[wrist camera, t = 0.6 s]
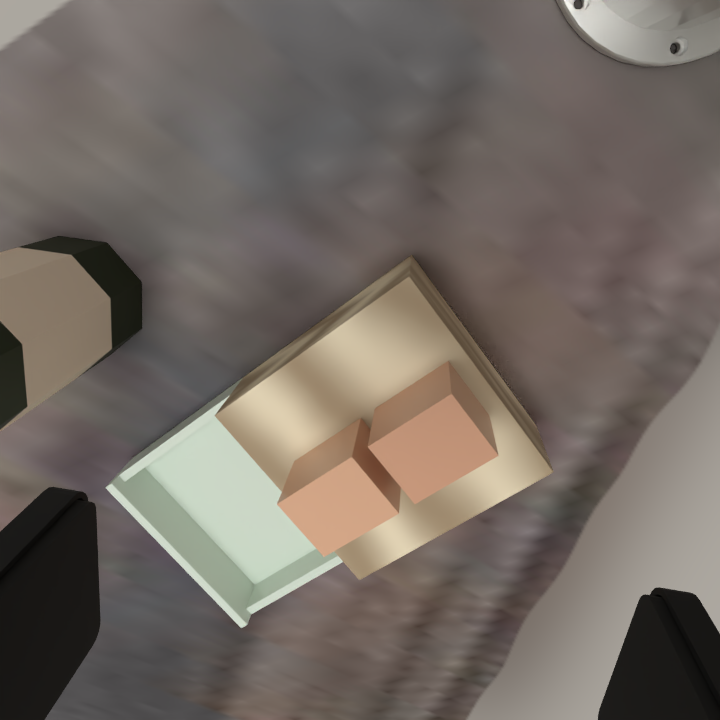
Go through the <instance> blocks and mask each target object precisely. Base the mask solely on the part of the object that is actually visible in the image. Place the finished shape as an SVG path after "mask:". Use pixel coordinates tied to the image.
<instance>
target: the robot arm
mask: <svg viewBox="0 0 720 720" xmlns="http://www.w3.org/2000/svg"><path fill="white" fill-rule="evenodd" d="M556 1H557V3H558V5H559V7H560V9H561V11H562V13H563V15H564V17H565V18H566V20H567V22H568V23H569V24H570V25H571V26H572V28H573V29H574V30H575V31H576V32H577V34H578V35H579V36H580V37H581V38H582V39H583V40H584V41H585V42H587V43H588V44H589V45H591V46H592V47H593V48H595V49H596V50H597V51H599V52H600V53H602V54H604V55H607V56H609V57H611V58H613V59H615V60H617V61H620V62H624V63H629V64H633V65H638V66H664V67H666V66H671V65H676V64H682V63H687V62H691V61H694V60H697V59H700V58H703V57H706V56H709V55H711V54H713V53H715V52H717V51H719V50H720V0H580V1H582V8H581V9H575V8H574V5H573V3H574V1H575V0H556ZM672 43H673V44H675V45H676V46H677V51H676V52H675V54H672V53H671V51H670V46H671V44H672ZM99 628H100V598H99V572H98V545H97V519H96V506H95V504H94V503H92V502H88V497H87V495H86V494H85V493H84V492H80V491H74V490H68V489H62V488H56V487H50V488H48V489H46V490H45V491H44V492H42V493H41V494H40V495H39V496H38V497H37V498H36V499H35V500H34V501H33V502H32V503H31V504H30V505H28V506H27V507H26V508H25V509H24V510H23V511H22V512H21V513H20V514H19V515H18V516H17V517H16V518H15V519H13V520H12V521H11V522H10V523H9V524H8V525H7V526H6V527H5V528H4V529H3V530H2V531H1V532H0V720H45V718H46V717H47V715H48V713H49V712H50V710H51V709H52V707H53V706H54V704H55V703H56V701H57V700H58V698H59V697H60V695H61V694H62V692H63V690H64V689H65V687H66V686H67V684H68V683H69V681H70V680H71V678H72V677H73V675H74V674H75V672H76V671H77V669H78V667H79V666H80V664H81V663H82V661H83V660H84V658H85V657H86V655H87V654H88V652H89V651H90V649H91V647H92V646H93V644H94V642H95V640H96V638H97V635H98V632H99ZM598 720H720V634H719V632H718V630H717V628H716V627H715V625H714V624H713V622H712V620H711V618H710V617H709V615H708V613H707V612H706V610H705V608H704V607H703V605H702V603H701V602H700V600H699V599H698V597H697V596H696V595H694V594H693V593H689V592H683V591H677V590H671V589H665V588H655V589H654V590H653V591H652V592H651V594H650V595H643V596H641V598H640V600H639V602H638V604H637V607H636V610H635V613H634V616H633V618H632V621H631V624H630V627H629V629H628V632H627V635H626V638H625V640H624V643H623V646H622V649H621V651H620V654H619V657H618V660H617V663H616V665H615V668H614V671H613V674H612V676H611V679H610V682H609V685H608V687H607V690H606V693H605V696H604V699H603V701H602V704H601V707H600V710H599V714H598Z"/></svg>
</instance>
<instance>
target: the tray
mask: <svg viewBox="0 0 720 720" xmlns="http://www.w3.org/2000/svg"><path fill="white" fill-rule="evenodd" d="M241 380H242V379H240V380H239V381H238V382H236V383H235V384H233V385H232V386H231V387H229V388H228V389H227V390H225V391H224V392H222V393H221V394H220V395H218V396H217V397H216V398H214V399H213V400H211V401H210V402H209V403H207V404H206V405H205V406H203V407H202V408H200V409H199V410H198V411H196V412H195V413H194V414H192V415H191V416H189V417H188V418H187V419H185V420H184V421H183V422H181V423H180V424H178V425H177V426H176V427H174V428H173V429H172V430H170V431H169V432H167V433H166V434H165V435H163V436H162V437H161V438H159V439H158V440H156V441H155V442H154V443H152V444H151V445H150V446H148V447H147V448H145V449H144V450H143V451H141V452H140V453H139V454H137V455H136V456H134V457H133V458H132V459H131V460H130V461H129V462H128V463H127V465H126V466H125V467H124V468H123V469H122V470H121V471H120V472H119V473H118V474H117V476H116V477H115V478H114V479H113V480H112V481H111V482H110V483H109V484H108V485H107V487H106V489H107V490H108V491H109V492H110V493H111V494H112V495H113V496H114V497H115V498H116V499H117V500H118V501H119V502H120V503H121V504H122V505H123V506H124V507H125V508H126V510H127V511H128V512H129V513H130V514H131V515H132V516H133V517H134V518H135V519H136V520H137V521H138V522H139V523H140V524H141V525H142V526H143V527H144V528H145V529H146V530H147V531H148V532H149V533H150V534H151V535H152V536H153V537H154V538H155V539H156V540H157V542H158V543H159V544H160V545H161V546H162V547H163V548H164V549H165V550H166V551H167V552H168V553H169V554H170V555H171V556H172V557H173V558H174V559H175V560H176V561H177V562H178V563H179V564H180V565H181V566H182V567H183V568H184V569H185V570H186V571H187V573H188V574H189V575H190V576H191V577H192V578H193V579H194V580H195V581H196V582H197V583H198V584H199V585H200V586H201V587H202V588H203V589H204V590H205V591H206V592H207V593H208V594H209V595H210V596H211V597H212V598H213V599H214V600H215V601H216V602H217V603H218V605H219V606H220V607H221V608H222V609H223V610H224V611H225V612H226V613H227V614H228V615H229V616H230V617H231V618H232V619H233V620H234V621H235V622H236V623H237V624H238V625H239V626H240V627H241V628H242V627H244V626H246V625H247V624H248V622H249V619H250V616H251V614H253V613H254V612H256V611H258V610H260V609H261V608H263V607H265V606H267V605H268V604H270V603H272V602H274V601H275V600H277V599H279V598H281V597H282V596H284V595H286V594H288V593H289V592H291V591H293V590H295V589H296V588H298V587H300V586H302V585H303V584H305V583H307V582H309V581H310V580H312V579H314V578H316V577H317V576H319V575H321V574H323V573H324V572H326V571H328V570H330V569H331V568H333V567H335V566H337V565H338V564H340V563H342V562H343V561H342V560H341V559H340V557H339V556H338V555H337V554H336V553H335V552H332V553H330V554H329V555H327V556H325V557H323V556H322V554H321V553H320V552H319V551H318V550H317V549H316V548H315V547H314V545H313V544H312V543H311V542H310V541H309V540H308V539H307V538H306V536H305V535H304V534H303V533H302V532H301V531H300V530H299V529H298V527H297V526H296V525H295V524H294V523H293V522H292V521H291V520H290V518H289V517H288V516H287V515H286V514H285V513H284V512H283V511H282V509H281V508H280V507H279V506H278V505H277V502H278V500H279V497H280V495H281V493H282V492H281V491H280V489H279V488H278V487H277V486H276V485H275V484H274V483H273V481H272V480H271V479H270V478H269V477H268V476H267V475H266V474H265V472H264V471H263V470H262V469H261V468H260V467H259V466H258V464H257V463H256V462H255V461H254V460H253V459H252V458H251V457H250V455H249V454H248V453H247V452H246V451H245V450H244V449H243V447H242V446H241V445H240V444H239V443H238V442H237V441H236V439H235V438H234V437H233V436H232V435H231V434H230V433H229V432H228V430H227V429H226V428H225V427H224V426H223V425H222V424H221V422H220V421H219V420H218V419H217V418H216V417H215V414H216V413H217V412H218V410H219V409H220V408H221V406H222V405H223V404H224V402H225V401H226V400H227V398H228V397H229V396H230V394H231V393H232V392H233V390H234V389H235V388H236V386H237V385H238V384H239V382H240V381H241Z"/></svg>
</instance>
